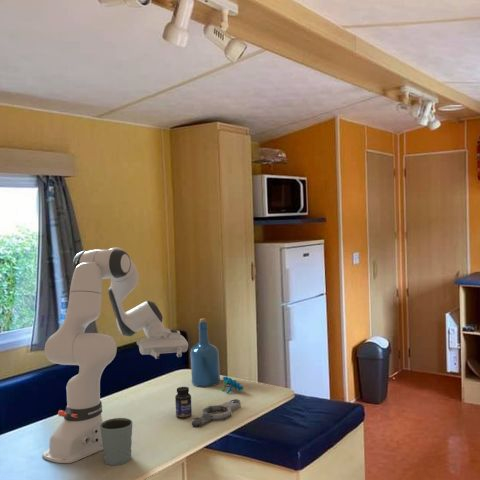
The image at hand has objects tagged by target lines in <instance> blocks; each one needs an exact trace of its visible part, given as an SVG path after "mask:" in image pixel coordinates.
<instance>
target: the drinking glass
mask: <svg viewBox="0 0 480 480" xmlns="http://www.w3.org/2000/svg"><path fill="white" fill-rule="evenodd" d="M100 428H101V435H102V444H103V448H104V449H103V450H102V452H103V462H104V463H105V464H106V465H109V466H121V465H123V464H124V465H125V464H126V463H128V462H130V460H131V459H132V442H133V441H132V440H133V439H132V436H133V420H132V419H130V418H126V417H116V418H109V419H106V420H104V421H103V422H102V423H101V425H100Z"/></svg>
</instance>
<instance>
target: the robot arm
mask: <svg viewBox="0 0 480 480" xmlns="http://www.w3.org/2000/svg"><path fill="white" fill-rule="evenodd" d="M72 269H73V273H72V278H71V282H70V289H69V298H68V302H67V303H68V305H67V309H66V310H67V311H66V314H65V316H64V317H65V318H64V319H63V322H62V324H61V325H60V327H59V328H58V329H57V330H56V331H55V332H54V333H53V334H52V335H50V336H49V337H48V338H47V339H46V342H45V344H44V355H45V357H46V359H47V360H48V361H49V362H50V363H53V364H56V365H57V364H58V365H61V366H67V365H68V366H78V367H79V369H78V374H76V375H74V376H72V377H71V378H70V379H68V382H67V383H66V387H65V389H66V404H67V405H66V406H65V410H62V409H59V410H58V412H57V415H58V417H62V418H63V420H62V421H61V423H60V424H58V426H57V428H56V429H55V430H54V431H53V433H52V434H51V436H50V438H49V446H48V447H49V448H47V449H46V450H45V451H43V452H42V454H41V455H42V458H43V459H45V460H47V461H49V462H54V463H58V464H59V463H60V464H71V463H75V462H77V461H79V460H82V459H84V458H86V457H88V456H91V455H93V454H96V453H98V452H101V451H104V450H103V449H104V448H103V444H102V435H101V428H100V425H101V423H102V422H104V421H103V417H102V413H103V405H102V400H101V395H100V394H101V378H102V375H103V372H104V370H105V368H106V367H107V366H108V365H109V364H110V363H112V361H114V359H115V357H116V356H117V349H118V346H117V343H116V340H115V339H114V337H113V336H111V335H110V334H109V335H108V334H104V333H99V332H85V331H86V329H87V328H88V326H89V325H90V324H91V323H93V322H94V321H97V320H98V319H99V317H100V315H101V309H102V308H101V307H102V296H103V280H107V279H110V287H108V290H107V291H108V293H107V294H108V297H109V301H110V305H111V307H112V310H113V313H114V317H115V321H116V326H117V329H118V331H119V332H120V334H121V335H122V336H124V337H132V336H134V335H135V334H137V333H138V332H139V331H141V330H143V332H144V335H145V336H146V337H145V338H143V337H142V338H138V339H136V345H137V346H138V349H139V353H140V354H141V355H142V356H143V355H150V356H152V357H154V358H155V360H157V359H160V355H161V354H172V353H173V354H174V353H176V356H177V358H181V357H182V355H183V354H182V353H186V352H187V351H188V349H189V342H188V341H187V339H186V338H185V337H184V336H183V335H182V334H181V332H180V330H176V329H170V328H168V327H165V325H164V322H163V315H162V312H161V311H160V309H159V308H158V306H157V303H155V302H153V301H150V300H146V301H143V302H142V303H140V304H138V305H137V306H135V307H133V308H131V309H129V310H127V311H125V310H124V307H123V301H124V300H125V299H126V298H127V296H129V294H131V293H132V292H133V291H134V289H135V288H136V287H137V285H138V283H139V281H140V276H139V275H140V274H139V271H138V268H137V267H136V265H135V263H134V262H133V260H132V258H131V257H130V255H129V254H128V253H127V252H126V251H125V250H124V249H123V248H121V247H117V246H116V247H115V246H114V247H111V248H109V249H103V248H98V249H89V250H82V251H80V252H78V253H76V255H75V256H74V258H73V261H72Z"/></svg>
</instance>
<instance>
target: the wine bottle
mask: <svg viewBox="0 0 480 480" xmlns="http://www.w3.org/2000/svg"><path fill="white" fill-rule="evenodd" d="M197 329H198V342H197V343H196V344H194V345H193V346H192V347H191V348H190V368H191V370H190V371H191V372H190V373H191V384H192V385H194V386H196V387H201V388H202V387H204V388H207V387H212V386H216V385H218V384H219V383H220V382H221V373H220V356H219V355H220V354H219V353H220V352H219V349H218V348H217V347H216V346H215V345H214V344H211V343H210V341H209V333H208V332H209V331H208V329H209V327H208V322H207V319H206V318H203V317H202V318H200V319H199V321H198V328H197Z"/></svg>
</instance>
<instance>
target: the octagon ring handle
mask: <svg viewBox="0 0 480 480" xmlns="http://www.w3.org/2000/svg"><path fill="white" fill-rule="evenodd" d="M241 406H242V405H241V401H240V399H238V398H237V399H236V398H235V399H231V400H229V401H226V402H225V403H222V404H217V405H215V404H214V405H209V406H207V407H205V408H203V409H202V416H201V417H197V416H196V417H193V418H191V426H192V428H195V429H198V428H202V427H205V426H207V425H209V424H211V423H213V422H214V423H215V422H224V421H227V420H229V419H231V418H232V413H233V412H235V411H237V410H239V409H241V408H242V407H241ZM214 413H215V414H214Z"/></svg>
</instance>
